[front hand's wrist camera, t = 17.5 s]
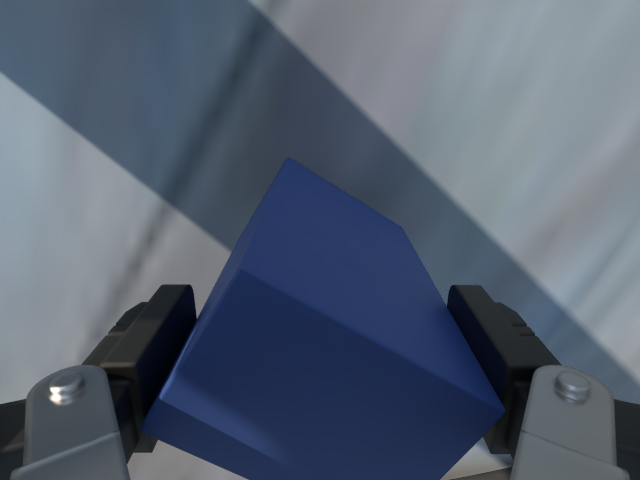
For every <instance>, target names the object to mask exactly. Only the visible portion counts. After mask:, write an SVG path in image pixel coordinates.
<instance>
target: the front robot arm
mask: <svg viewBox="0 0 640 480" xmlns="http://www.w3.org/2000/svg"><path fill="white" fill-rule="evenodd" d="M447 308H448V310H449V311H450V313H451V315H452V317H453V318H454V320H455V322H456V324H457V325H458V327H459V329H460V331H461V332H462V334H463V336H464V338H465V339H466V341H467V343H468V345H469V347H470V348H471V350H472V352H473V354H474V355H475V357H476V359H477V361H478V362H479V364H480V366H481V368H482V369H483V371H484V373H485V375H486V376H487V378H488V380H489V382H490V384H491V385H492V387H493V389H494V391H495V392H496V394H497V396H498V398H499V399H500V401H501V403H502V405H503V406H504V408H505V410H506V413H505V415H504V416H503V417H502V418H501V419H500V420H499V421H498V422H497V423H496V424H495V425H494V426H493V427H492V428H491V429H490V430H489V431H488V432H487V433H486V434H485V435H484V436H483V438H484V440H485V442H486V444H487V446H488V448H489V451H490V453H491V454H511V456H512V458H513V460H514V463H513V467H510V468H505V469H501V470H496V471H491V472H487V473H482V474H477V475H472V476H467V477H462V478H457V479H451V480H640V405H638V404H633V403H629V402H624V401H620V400H615V399H614V398H613V395H612V393H611V392H610V390H609V389H608V388H607V387H606V386H605V385H604V384H603V383H602V382H600V381H599V380H598V379H596V378H595V377H593V376H591V375H589V374H587V373H585V372H583V371H581V370H578V369H575V368H571V367H567V366H562V365H561V364H560V363H559V362H558V360H557V359H556V358H555V357H554V356H553V355H552V353H551V352H550V351H549V350H548V349H547V347H546V346H545V345H544V344H543V343H542V342H541V340H540V339H539V338H538V337H537V336H535V333H534V332H533V331H532V330H531V329H530V328H529V327H527V324H526V323H525V322H524V320H523V319H522V318H521V317H520V316H519V315H518V313H517V312H515V311H513V310H512V309H510V308H508V307H507V306H505V305H504V304H502V303H494V301H493V300H492V299H491V298H490V296H489V295H488V294H487V293H486V291H485V290H484V289H483V288H482V286H480V285H452V286H451V287H450V290H449V295H448V302H447ZM196 320H197V317H196V309H195V301H194V293H193V289H192V286H191V285H161V286H160V287H159V289H158V290H157V291H156V293H155V294H154V295H153V296H152V298H151V299H150V300H149V302H141V303H139V304H138V305H136V306H135V307H133V308H131V309H130V310H128V311H127V312H125V314H124V315H123V316H122V317H121V318H120V319H119V321H118V322H117V323H116V326H114V327H113V328H112V329H111V330H110V331H109V332H108V336H105V337H104V338H103V340H102V341H101V342H100V343H99V344H98V346H97V347H96V348H95V349H94V350H93V351H92V353H91V354H90V355H89V356H88V357H87V359H86V360H85V361H84V362H83V363H82V364H81V365H78V366H73V367H69V368H65V369H62V370H59V371H57V372H55V373H53V374H51V375H49V376H47V377H45V378H44V379H42V380H41V381H40V382H38V383H37V384H36V385H35V386H34V387H33V388H32V389H31V390H30V392H29V393H28V395H27V398H26V399H23V400H19V401H14V402H9V403H5V404H0V480H130V476H129V472H128V467H127V463H128V461H129V459H130V457H131V456H132V454H133V453H152V452H153V449H154V447H155V445H156V443H157V441H158V439H156V438H153V437H151V436H149V435H147V434H144V433H142V432H141V425H142V424H143V422H144V420H145V418H146V416H147V414H148V412H149V410H150V408H151V406H152V404H153V402H154V401H155V399H156V397H157V395H158V393H159V391H160V389H161V387H162V385H163V383H164V381H165V380H166V378H167V376H168V374H169V372H170V370H171V368H172V366H173V364H174V362H175V360H176V358H177V357H178V355H179V353H180V351H181V349H182V347H183V345H184V343H185V341H186V339H187V337H188V335H189V334H190V332H191V330H192V328H193V326H194V324H195V322H196Z"/></svg>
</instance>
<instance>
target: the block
mask: <svg viewBox="0 0 640 480" xmlns="http://www.w3.org/2000/svg"><path fill="white" fill-rule="evenodd" d="M505 413H506V410H505V408H504V406H503V405H502V403H501V401H500V399H499V398H498V396H497V394H496V392H495V391H494V389H493V387H492V385H491V384H490V382H489V380H488V378H487V376H486V375H485V373H484V371H483V369H482V368H481V366H480V364H479V362H478V361H477V359H476V357H475V355H474V354H473V352H472V350H471V348H470V347H469V345H468V343H467V341H466V339H465V338H464V336H463V334H462V332H461V331H460V329H459V327H458V325H457V324H456V322H455V320H454V318H453V317H452V315H451V313H450V311H449V310H448V308H447V306H446V304H445V302H444V301H443V299H442V297H441V295H440V294H439V292H438V290H437V288H436V287H435V285H434V283H433V281H432V280H431V278H430V276H429V274H428V273H427V271H426V269H425V267H424V265H423V264H422V262H421V260H420V258H419V257H418V255H417V253H416V251H415V250H414V248H413V246H412V244H411V243H410V241H409V239H408V237H407V236H406V234H405V232H404V230H403V228H402V227H401V226H399V225H397V224H396V223H394V222H393V221H391V220H389V219H388V218H386V217H384V216H383V215H381V214H380V213H378V212H376V211H375V210H373V209H372V208H370V207H368V206H367V205H365V204H363V203H362V202H360V201H359V200H357V199H355V198H354V197H352V196H351V195H349V194H347V193H346V192H344V191H342V190H341V189H339V188H338V187H336V186H334V185H333V184H331V183H330V182H328V181H326V180H325V179H323V178H322V177H320V176H318V175H317V174H315V173H313V172H312V171H310V170H309V169H307V168H305V167H304V166H302V165H301V164H299V163H297V162H296V161H294V160H292V159H291V158H289V157H288V158H287V159H286V160H285V162H284V164H283V165H282V167H281V169H280V170H279V172H278V174H277V176H276V177H275V179H274V181H273V182H272V184H271V186H270V187H269V189H268V191H267V192H266V194H265V196H264V197H263V199H262V201H261V202H260V204H259V206H258V207H257V209H256V211H255V213H254V214H253V216H252V218H251V219H250V221H249V223H248V224H247V226H246V228H245V229H244V231H243V233H242V234H241V236H240V238H239V240H238V242H237V244H236V246H235V247H234V249H233V251H232V253H231V255H230V257H229V259H228V261H227V263H226V265H225V267H224V268H223V270H222V272H221V274H220V276H219V278H218V280H217V282H216V284H215V286H214V288H213V290H212V291H211V293H210V295H209V297H208V299H207V301H206V303H205V305H204V307H203V309H202V311H201V313H200V314H199V316H198V318H197V320H196V322H195V324H194V326H193V328H192V330H191V332H190V334H189V335H188V337H187V339H186V341H185V343H184V345H183V347H182V349H181V351H180V353H179V355H178V357H177V358H176V360H175V362H174V364H173V366H172V368H171V370H170V372H169V374H168V376H167V378H166V380H165V381H164V383H163V385H162V387H161V389H160V391H159V393H158V395H157V397H156V399H155V401H154V402H153V404H152V406H151V408H150V410H149V412H148V414H147V416H146V418H145V420H144V422H143V424H142V425H141V432H142V433H144V434H147V435H149V436H151V437H153V438H156V439H158V440H160V441H162V442H165V443H167V444H169V445H172V446H174V447H176V448H178V449H181V450H183V451H185V452H187V453H190V454H192V455H194V456H196V457H199V458H201V459H203V460H206V461H208V462H210V463H212V464H215V465H217V466H219V467H221V468H224V469H226V470H228V471H230V472H233V473H235V474H237V475H240V476H242V477H244V478H246V479H249V480H440V479H441V478H442V477H443V476H444V475H445V474H446V473H447V472H448V471H449V470H450V469H451V468H452V467H453V466H454V465H455V464H456V463H457V462H458V461H459V460H460V459H461V458H462V457H463V456H464V455H465V454H466V453H467V452H468V451H469V450H470V449H471V448H472V447H473V446H474V445H475V444H476V443H477V442H478V441H479V440H480V439H481V438H482V437H483V436H484V435H485V434H486V433H487V432H488V431H489V430H490V429H491V428H492V427H493V426H494V425H495V424H496V423H497V422H498V421H499V420H500V419H501V418H502V417H503V416H504V415H505Z"/></svg>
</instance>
